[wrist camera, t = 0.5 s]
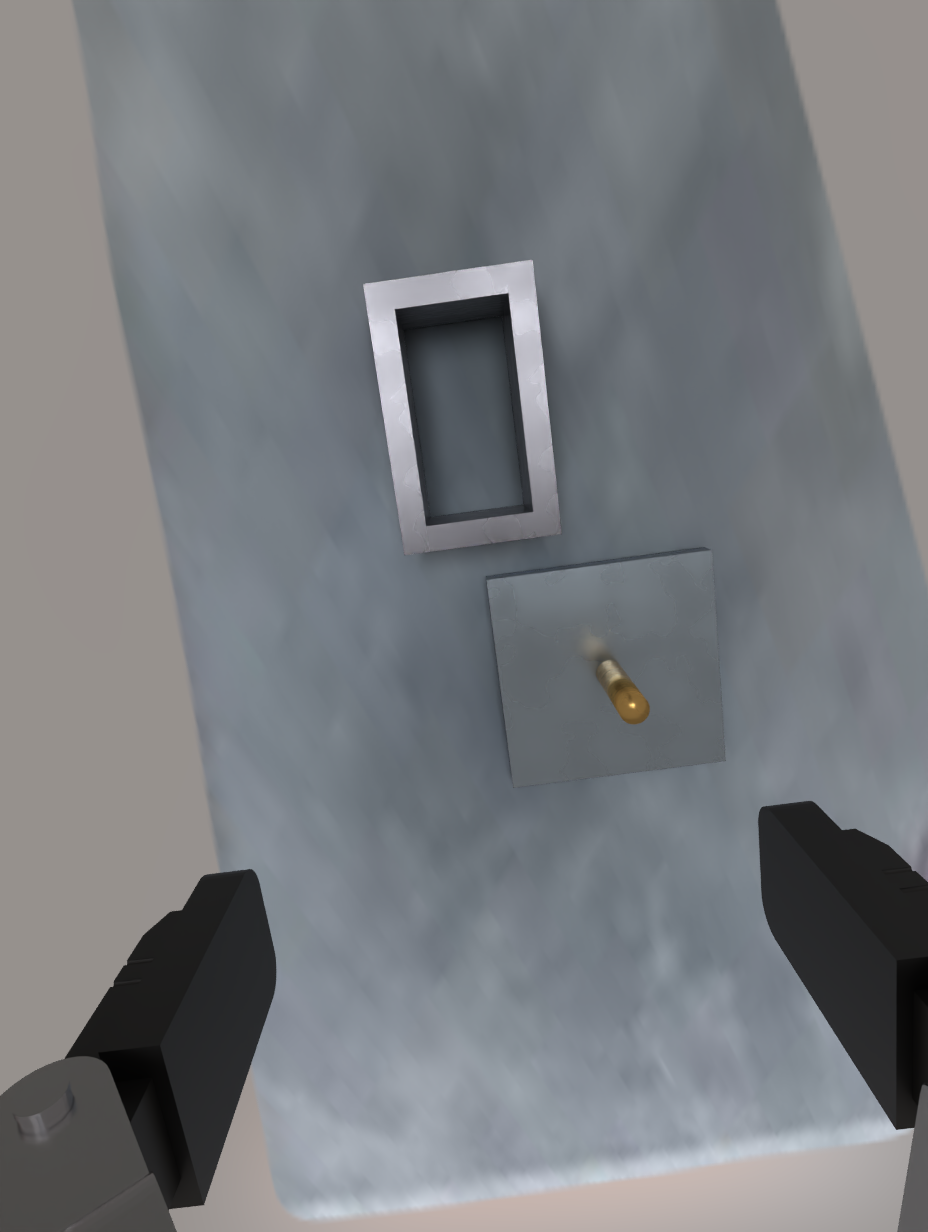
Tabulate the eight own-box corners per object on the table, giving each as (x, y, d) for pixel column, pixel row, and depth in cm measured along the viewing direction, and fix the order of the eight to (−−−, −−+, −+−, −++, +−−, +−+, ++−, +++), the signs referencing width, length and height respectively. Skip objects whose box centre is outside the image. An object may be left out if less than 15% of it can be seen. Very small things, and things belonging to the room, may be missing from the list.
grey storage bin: (376, 308, 31) (363, 284, 27) (522, 287, 31) (532, 259, 27) (411, 542, 33) (404, 555, 29) (548, 523, 33) (561, 533, 29)
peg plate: (485, 576, 34) (491, 601, 28) (704, 547, 33) (756, 566, 28) (512, 778, 36) (522, 842, 30) (718, 752, 36) (769, 811, 30)
